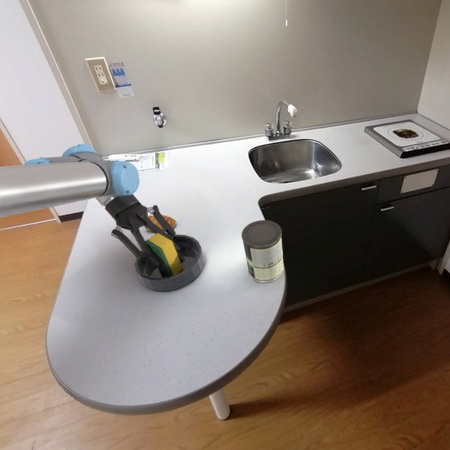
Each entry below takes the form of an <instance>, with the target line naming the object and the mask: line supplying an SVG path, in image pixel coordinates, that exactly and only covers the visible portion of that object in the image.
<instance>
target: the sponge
mask: <svg viewBox="0 0 450 450" xmlns="http://www.w3.org/2000/svg"><path fill="white" fill-rule="evenodd" d="M145 242H146V243H147V245H148V247H149V249H150V251H151V252H152V254H154V253H155V252H156V254H157V255H158V256H159V257H160V258H161V259H162V260H163V262H164V263H165V264H166V265H167V266H168V267H169V268H170V269H171V272H170V273H168V274H167V275H168V276H170V277H171V276H173V275H176V274H177V273H178V272H180V271H181V270H182V269H183V267H182V265H181V262H180V260H179V257H178V255H177V252H176V250H175V247H174V245H173V242H172V241H171V240H169V239H168V238H166V237H164V236H162V235H161V234H159V233H157V234H155V233H154V234H153V235H152V236H151V237H149V238H148V239H146V240H145ZM157 267H158V269H159V270H161V271H162V272H164V270H163V269H162V268H161V267H160V266H159V265H158V266H157ZM164 273H165V272H164ZM165 274H166V273H165Z"/></svg>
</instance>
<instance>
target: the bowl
mask: <svg viewBox="0 0 450 450" xmlns="http://www.w3.org/2000/svg"><path fill="white" fill-rule="evenodd" d="M173 241H174V242H175V243H176V244H177V245H178V247H179V248H180V249H179V250H178V252H179V253H180V254H181V255H182V256H183V257H184V259H185V261H184V262H182V263H181V265H182V267H183V269H182V270H181V271H180V272H178V273H177V274H176V275H173V276H171V277H170V276H168V275H167V274H165V273H164V272H162V271H161V270H159V269H158V267H156V266H154V265H153V264H152V263H151V262H150V260H149V259H148V258H144V259H141V260H139V259H137V258H136V257H135V261H134V269H135V272H136V274H137V276H138V277H139V280H140V282H141V283H142V284H143V285H144V287H146V288H148V289H150V290H152V291H158V292H166V291H167V292H168V291H172V290H177V289H179V288H182V287H185V286H187V285H188V284H190V283H191V282H192V281H194V280H195V279H197V277H198V276H199V275H200V274H201V272H202V271H203V268H204V266H205V255H204V251H203V248H202V246H201V244H200V242H199V240H197V239H196V238H194V236H190V235H187V234H177V233H176V234H175V236H174V237H173ZM140 251H141V252H142V253H143V251H142V250H141V249H140Z"/></svg>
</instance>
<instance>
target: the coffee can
mask: <svg viewBox="0 0 450 450" xmlns="http://www.w3.org/2000/svg"><path fill="white" fill-rule="evenodd" d="M282 234H283V233H282V227H281V226H280V225H279V224H278V223H276V222H274V221H272V220H267V219H262V220H255V221H252V222H250V223H248V224H246V226H244V227H243V229H242V231H241V240H242V243H243V249H244V253H245V259H246V266H247V273H248V275H249V277H250V278H251V280H253V281H255V282H257V283H260V284H267V283H272V282H275V281H276V280H278V279H279V278H281V276H282V275H283V273H284V269H285V266H284V254H283V239H282Z"/></svg>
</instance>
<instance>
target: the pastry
mask: <svg viewBox="0 0 450 450" xmlns="http://www.w3.org/2000/svg"><path fill="white" fill-rule="evenodd" d="M161 215H162V216H163V217H164V218H165V220H166V221H167V222H168V223H169V225H170V226H171V227H172V228H173V229H174V228H175V227H176V225H177V221H176V219H175V218H173V217H171V216H168V215H164V214H161ZM148 218H149V219H150V220H151V221H152V222H153V223H154V224H155V225H156V226H158V227H159V228H160V229H162V230H163V231H164V232H165V230H164V229H163V228H162V227H161V225H160V224H159V223H158V222H157V220H156V219H155V218H154V216H153V215H151V214H150V215H148ZM144 228H145V230H146V231H149V232H152V231H151V230H150V229H148V228H146V227H145V226H144ZM152 233H153V232H152Z"/></svg>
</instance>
